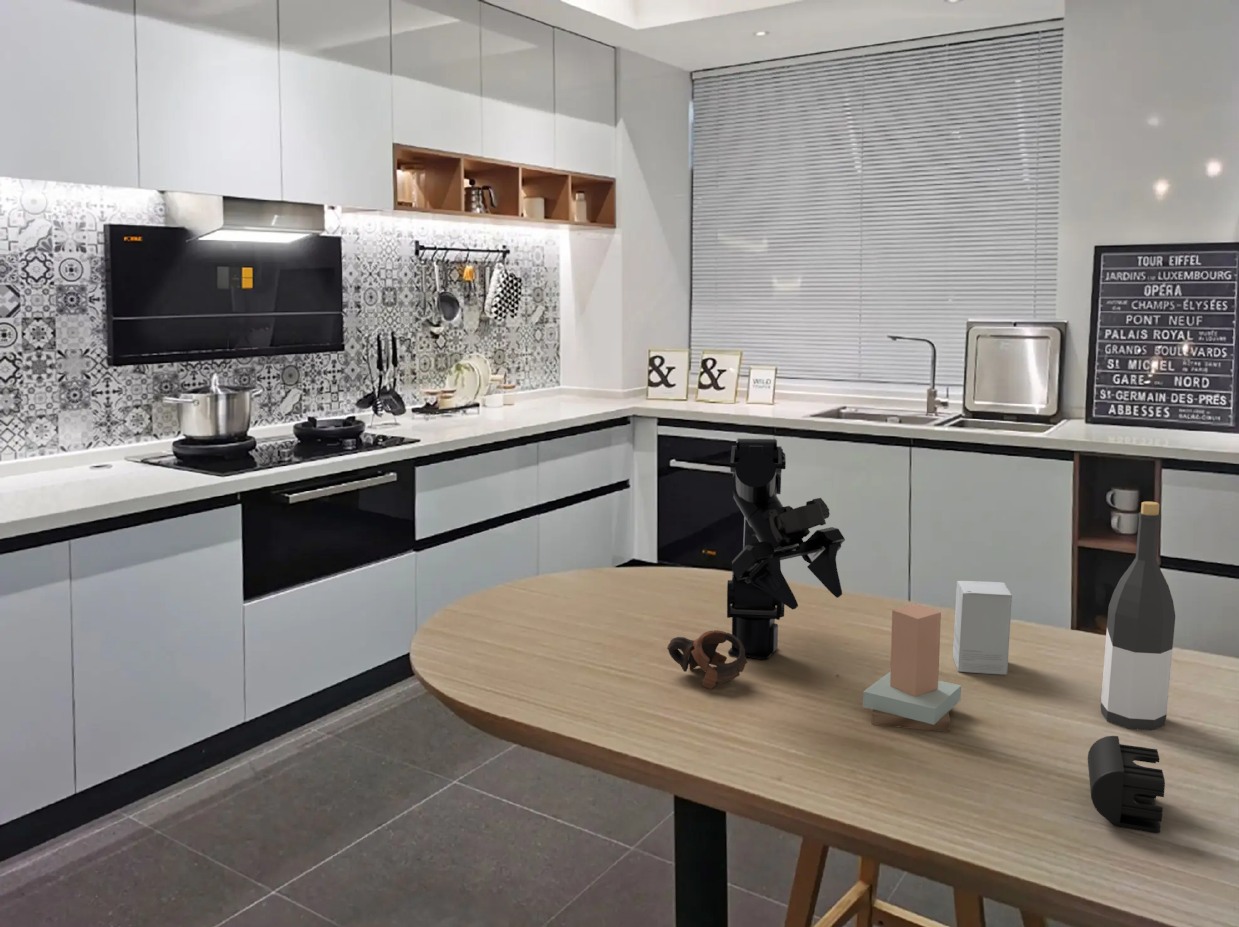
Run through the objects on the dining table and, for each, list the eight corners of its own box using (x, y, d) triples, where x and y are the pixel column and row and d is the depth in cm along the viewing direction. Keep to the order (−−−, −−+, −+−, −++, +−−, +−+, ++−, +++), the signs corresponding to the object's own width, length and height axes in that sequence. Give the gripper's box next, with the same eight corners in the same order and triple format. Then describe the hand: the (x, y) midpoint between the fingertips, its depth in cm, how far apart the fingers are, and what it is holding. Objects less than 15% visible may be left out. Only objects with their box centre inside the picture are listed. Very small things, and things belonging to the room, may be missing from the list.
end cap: (1085, 785, 125) (1089, 731, 124) (1152, 795, 122) (1156, 740, 121) (1088, 825, 116) (1093, 767, 115) (1160, 837, 113) (1166, 778, 112)
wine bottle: (1162, 736, 138) (1182, 511, 133) (1095, 722, 142) (1112, 505, 137) (1168, 714, 145) (1187, 500, 140) (1104, 702, 149) (1120, 494, 144)
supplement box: (1008, 675, 159) (1013, 595, 157) (957, 672, 161) (961, 592, 159) (1000, 659, 166) (1005, 581, 164) (951, 655, 168) (956, 579, 166)
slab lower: (871, 729, 142) (872, 714, 142) (872, 701, 152) (873, 686, 151) (949, 737, 140) (949, 721, 139) (945, 707, 149) (946, 693, 149)
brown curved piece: (742, 668, 164) (754, 633, 159) (732, 715, 157) (745, 680, 152) (667, 646, 165) (677, 610, 160) (654, 691, 158) (665, 655, 153)
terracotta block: (890, 685, 146) (892, 609, 144) (912, 678, 148) (915, 603, 146) (915, 696, 142) (917, 618, 140) (938, 688, 144) (941, 612, 142)
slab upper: (862, 706, 144) (863, 691, 144) (891, 684, 152) (892, 669, 152) (934, 724, 138) (934, 708, 138) (960, 700, 146) (961, 685, 146)
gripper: (746, 489, 147) (803, 583, 140) (837, 474, 158) (893, 561, 151) (708, 533, 154) (760, 625, 147) (797, 516, 165) (849, 601, 159)
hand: (818, 601), depth 151 cm, fingers open, 9 cm apart
